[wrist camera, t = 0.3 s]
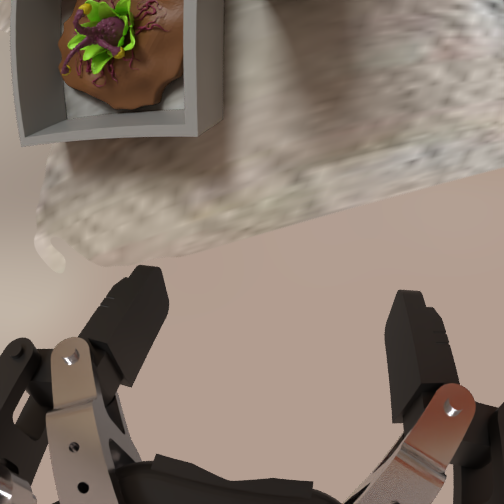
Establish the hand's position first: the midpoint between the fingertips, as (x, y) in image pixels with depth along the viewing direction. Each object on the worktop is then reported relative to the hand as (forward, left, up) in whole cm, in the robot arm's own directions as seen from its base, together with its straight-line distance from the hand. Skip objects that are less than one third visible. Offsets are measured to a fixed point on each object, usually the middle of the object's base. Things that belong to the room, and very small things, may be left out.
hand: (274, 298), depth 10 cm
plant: (-12, -22, -30) cm, 39 cm away
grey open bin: (-13, -22, -29) cm, 39 cm away
